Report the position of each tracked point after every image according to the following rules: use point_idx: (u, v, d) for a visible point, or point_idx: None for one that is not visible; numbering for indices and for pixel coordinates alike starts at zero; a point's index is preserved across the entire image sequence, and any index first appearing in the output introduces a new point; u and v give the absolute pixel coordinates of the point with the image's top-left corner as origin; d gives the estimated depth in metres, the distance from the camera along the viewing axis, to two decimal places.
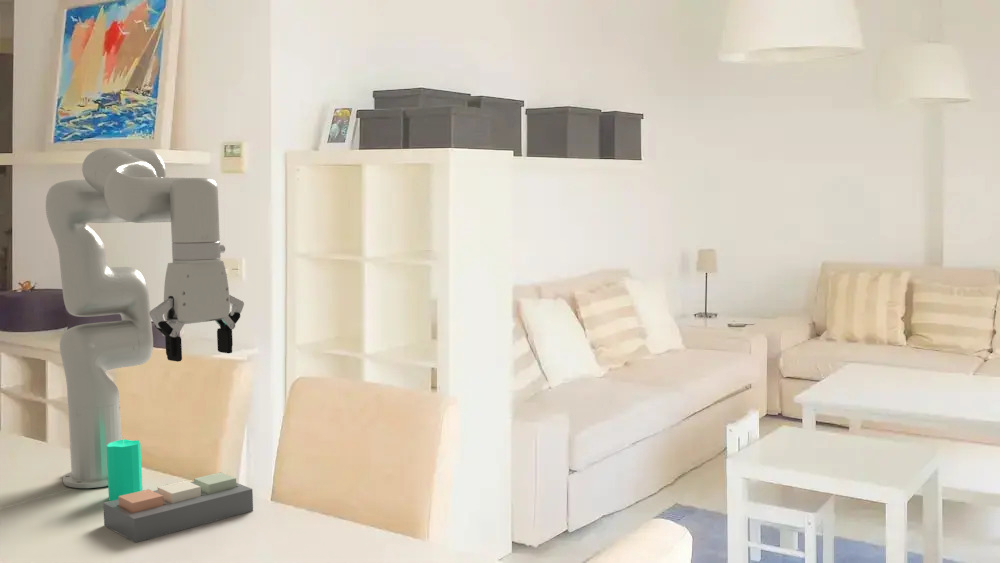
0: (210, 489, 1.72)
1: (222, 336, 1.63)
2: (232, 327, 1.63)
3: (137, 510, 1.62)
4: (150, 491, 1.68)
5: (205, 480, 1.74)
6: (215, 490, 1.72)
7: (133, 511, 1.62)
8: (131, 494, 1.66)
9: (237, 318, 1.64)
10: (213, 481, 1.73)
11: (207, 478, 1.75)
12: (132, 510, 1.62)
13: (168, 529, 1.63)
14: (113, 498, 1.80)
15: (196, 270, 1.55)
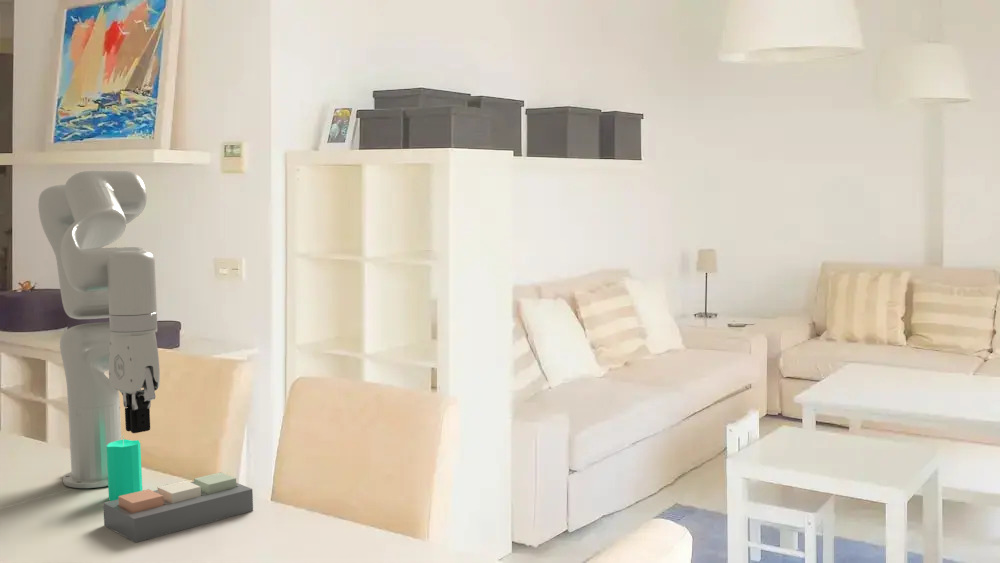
0: (210, 489, 1.72)
1: None
2: None
3: (137, 510, 1.62)
4: (150, 491, 1.68)
5: (205, 480, 1.74)
6: (215, 490, 1.72)
7: (133, 511, 1.62)
8: (131, 494, 1.66)
9: None
10: (213, 481, 1.73)
11: (207, 478, 1.75)
12: (132, 510, 1.62)
13: (168, 529, 1.63)
14: (113, 498, 1.80)
15: None
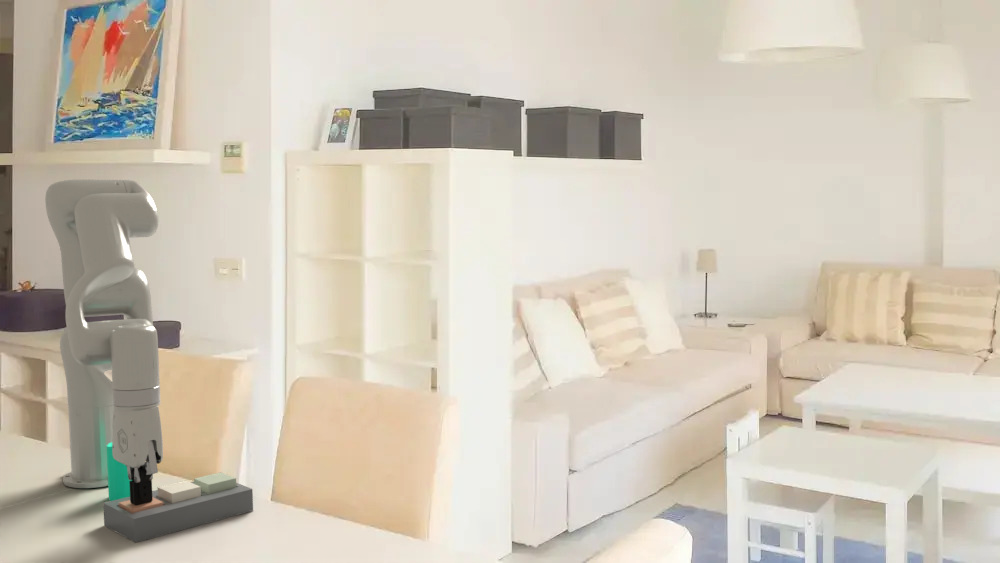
0: (210, 489, 1.72)
1: None
2: None
3: None
4: None
5: (205, 480, 1.74)
6: (215, 490, 1.72)
7: None
8: None
9: None
10: (213, 481, 1.73)
11: (207, 478, 1.75)
12: None
13: (168, 529, 1.63)
14: (113, 498, 1.80)
15: None
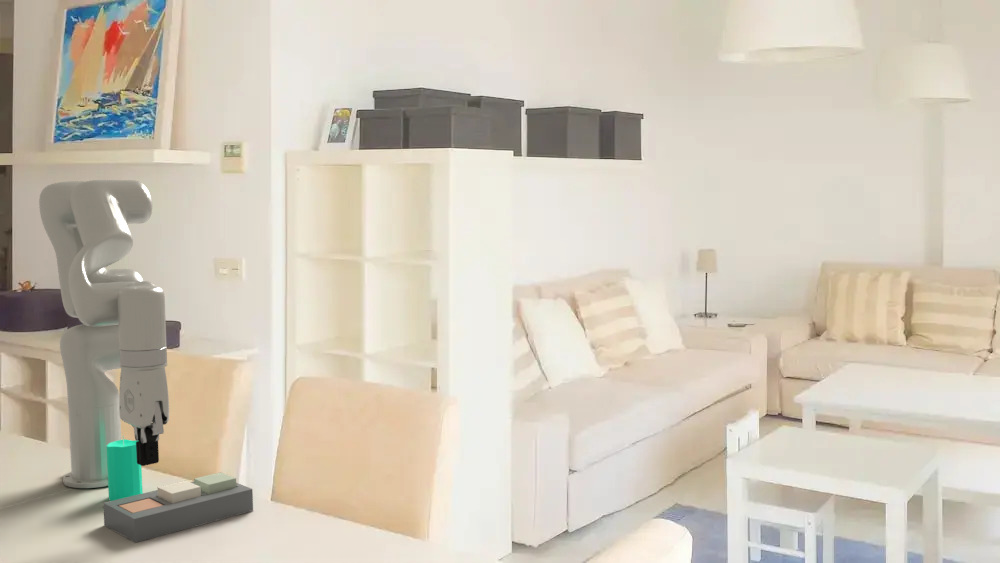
0: (210, 489, 1.72)
1: None
2: None
3: None
4: (151, 500, 1.68)
5: (205, 480, 1.74)
6: (215, 490, 1.72)
7: None
8: (131, 503, 1.66)
9: None
10: (213, 481, 1.73)
11: (207, 478, 1.75)
12: None
13: (168, 529, 1.63)
14: (113, 498, 1.80)
15: None
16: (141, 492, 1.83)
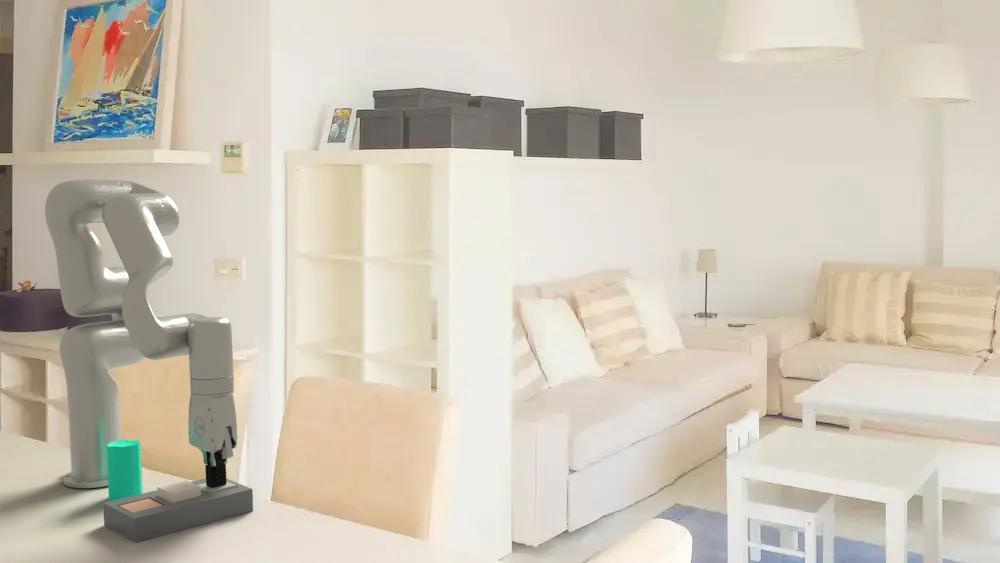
0: None
1: None
2: None
3: None
4: (151, 500, 1.68)
5: (206, 487, 1.74)
6: None
7: None
8: (131, 503, 1.66)
9: None
10: (214, 488, 1.73)
11: None
12: None
13: (168, 529, 1.63)
14: (113, 498, 1.80)
15: None
16: (141, 492, 1.83)
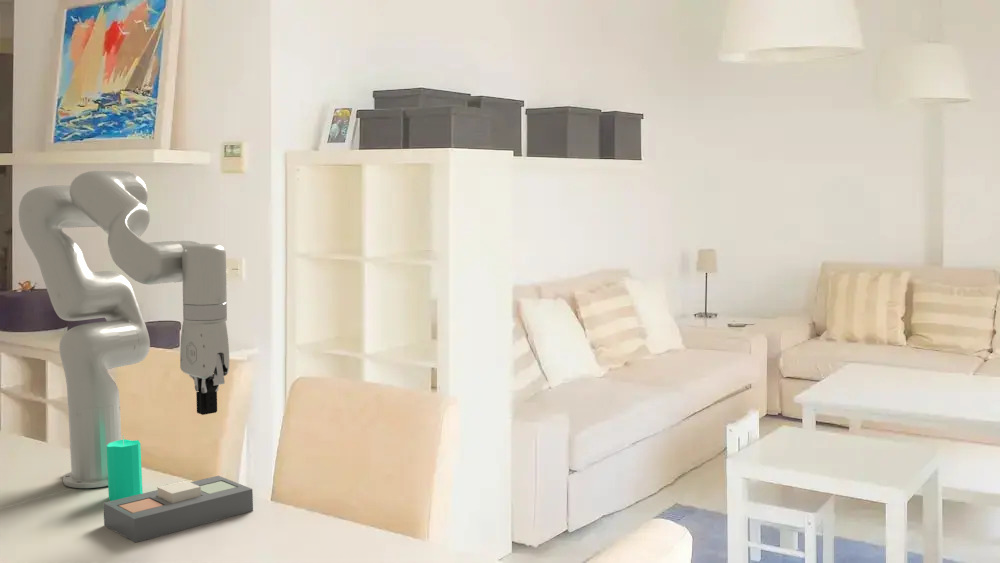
0: None
1: None
2: None
3: None
4: (151, 500, 1.68)
5: (206, 489, 1.74)
6: None
7: None
8: (131, 503, 1.66)
9: None
10: (214, 490, 1.73)
11: (207, 487, 1.75)
12: None
13: (168, 529, 1.63)
14: (113, 498, 1.80)
15: None
16: (141, 492, 1.83)
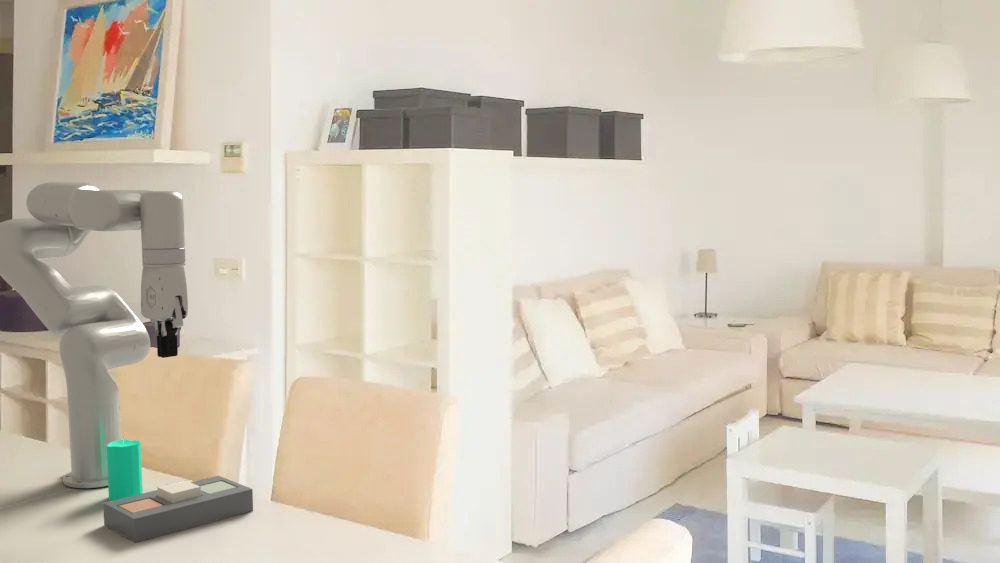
0: None
1: None
2: None
3: None
4: (151, 500, 1.68)
5: (206, 489, 1.74)
6: None
7: None
8: (131, 503, 1.66)
9: None
10: (214, 490, 1.73)
11: (207, 487, 1.75)
12: None
13: (168, 529, 1.63)
14: (113, 498, 1.80)
15: None
16: (141, 492, 1.83)
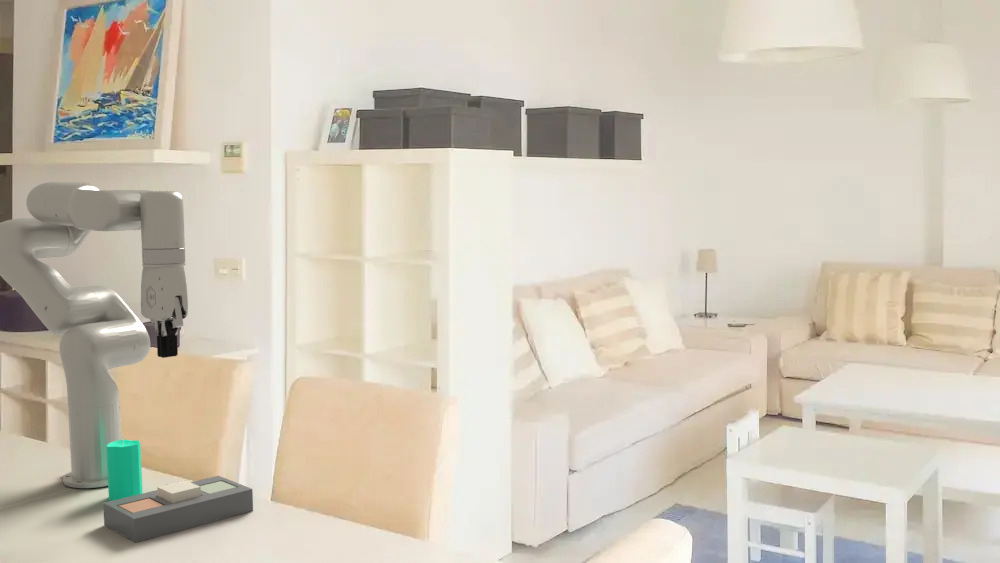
0: None
1: None
2: None
3: None
4: (151, 500, 1.68)
5: (206, 489, 1.74)
6: None
7: None
8: (131, 503, 1.66)
9: None
10: (214, 490, 1.73)
11: (207, 487, 1.75)
12: None
13: (168, 529, 1.63)
14: (113, 498, 1.80)
15: None
16: (141, 492, 1.83)
